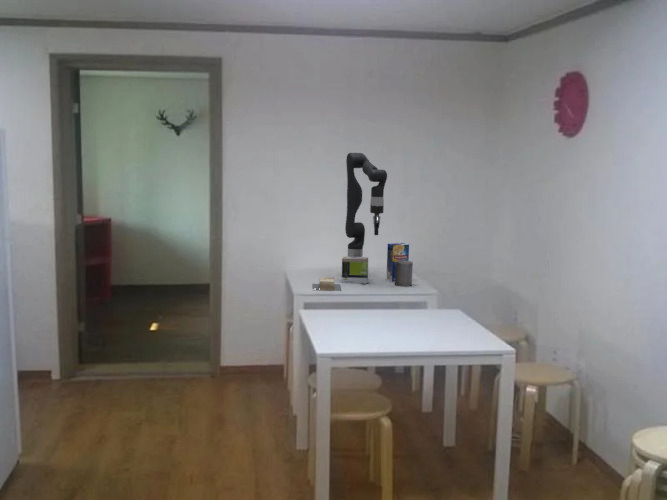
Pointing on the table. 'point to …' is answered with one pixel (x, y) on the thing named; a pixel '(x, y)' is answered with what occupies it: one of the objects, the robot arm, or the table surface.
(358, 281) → the tea box
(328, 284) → the block
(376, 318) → the table surface
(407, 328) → the table surface
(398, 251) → the blue food box
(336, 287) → the mat
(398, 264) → the pillar candle
